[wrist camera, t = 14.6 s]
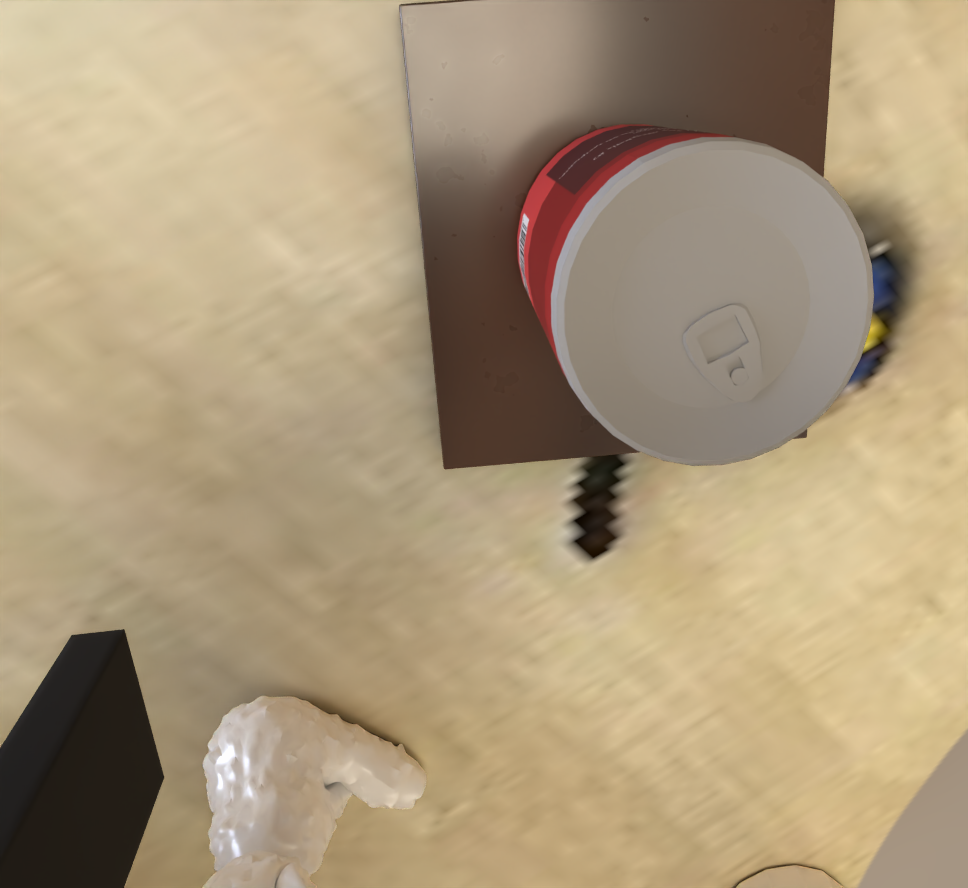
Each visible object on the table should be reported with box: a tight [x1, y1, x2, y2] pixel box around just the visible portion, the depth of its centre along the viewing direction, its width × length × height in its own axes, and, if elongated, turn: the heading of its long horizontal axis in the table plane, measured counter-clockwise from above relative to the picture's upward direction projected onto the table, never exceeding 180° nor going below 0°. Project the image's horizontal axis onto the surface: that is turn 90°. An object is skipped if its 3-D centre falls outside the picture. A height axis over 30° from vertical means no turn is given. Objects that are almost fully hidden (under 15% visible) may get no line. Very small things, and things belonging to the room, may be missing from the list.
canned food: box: [517, 125, 874, 466], centre depth 26 cm, size 8×8×11 cm
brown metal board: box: [399, 0, 835, 469], centre depth 32 cm, size 14×16×2 cm
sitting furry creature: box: [202, 695, 427, 888], centre depth 35 cm, size 10×9×12 cm
